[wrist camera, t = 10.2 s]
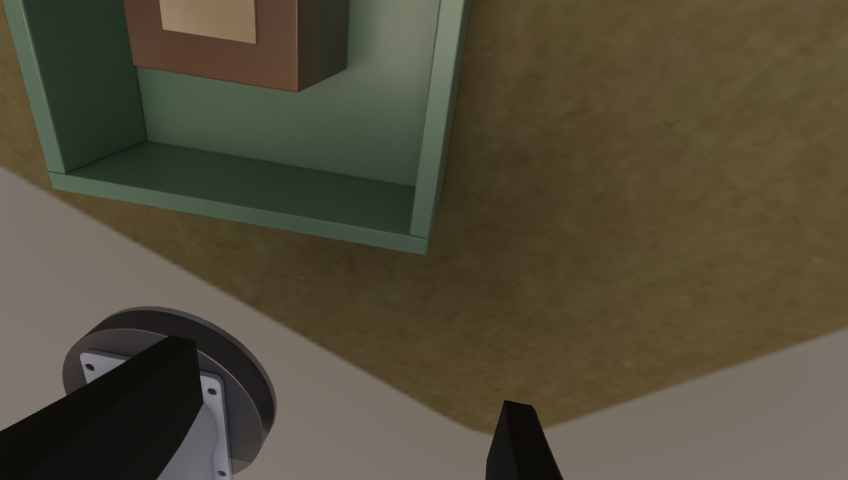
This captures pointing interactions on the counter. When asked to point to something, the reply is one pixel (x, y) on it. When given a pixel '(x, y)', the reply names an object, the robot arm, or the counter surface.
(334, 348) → the counter surface
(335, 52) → the letter block
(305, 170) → the tray
